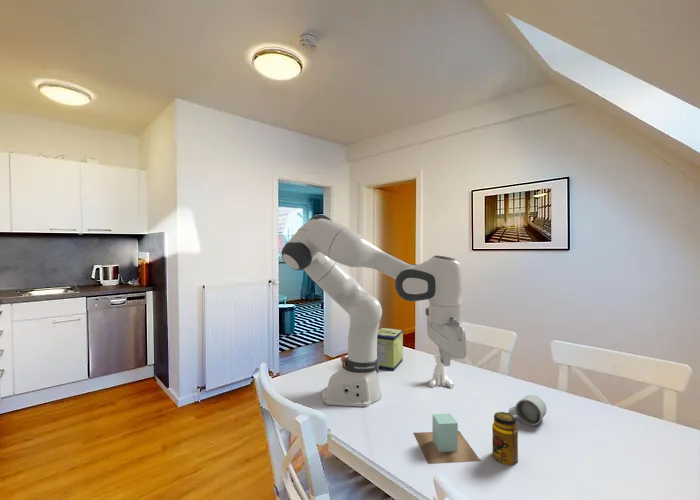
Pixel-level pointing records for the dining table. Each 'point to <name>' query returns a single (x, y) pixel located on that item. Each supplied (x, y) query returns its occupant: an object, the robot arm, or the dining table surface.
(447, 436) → the mint green upright block
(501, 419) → the condiment
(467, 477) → the dining table surface
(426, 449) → the board
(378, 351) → the protein box
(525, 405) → the ceramic mug
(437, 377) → the white creature statuette
